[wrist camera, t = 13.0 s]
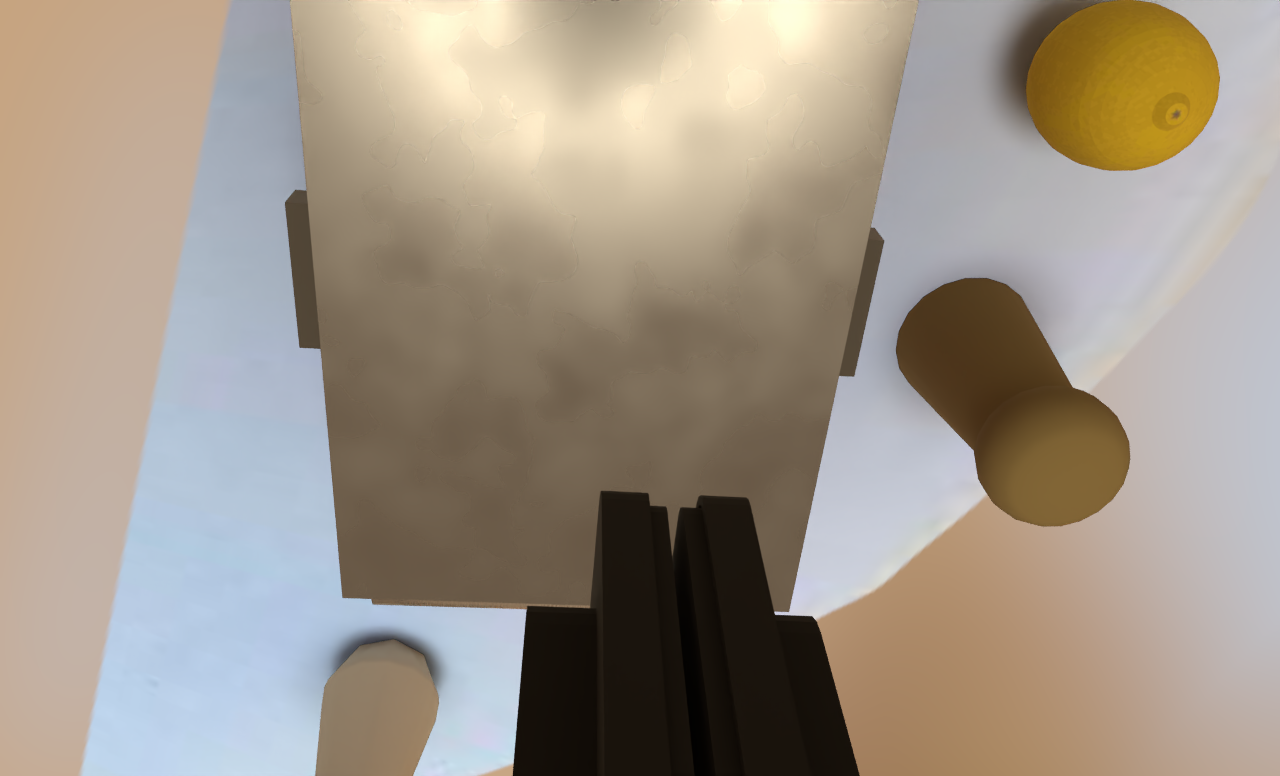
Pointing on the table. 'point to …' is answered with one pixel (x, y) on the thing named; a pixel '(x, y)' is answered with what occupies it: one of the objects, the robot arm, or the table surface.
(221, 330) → the table surface
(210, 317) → the table surface
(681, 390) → the grey box lid
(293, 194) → the orange wooden open box
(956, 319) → the cork
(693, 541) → the robot arm
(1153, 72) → the lemon
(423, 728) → the salt shaker
